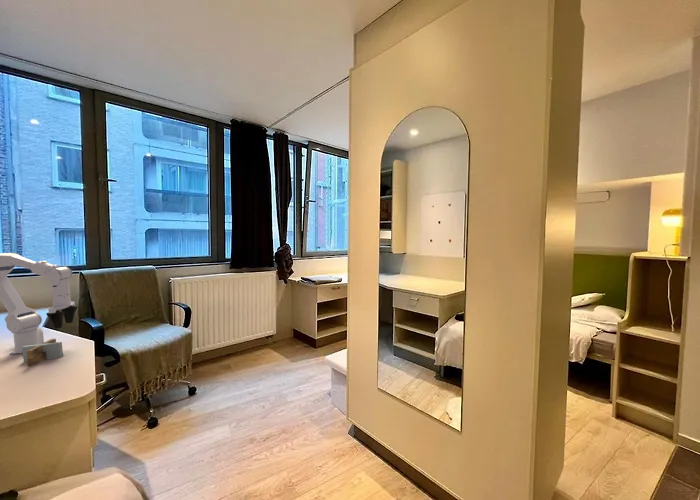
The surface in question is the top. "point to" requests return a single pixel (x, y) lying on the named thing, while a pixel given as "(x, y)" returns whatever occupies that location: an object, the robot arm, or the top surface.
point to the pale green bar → (46, 350)
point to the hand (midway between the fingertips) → (64, 325)
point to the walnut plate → (37, 354)
